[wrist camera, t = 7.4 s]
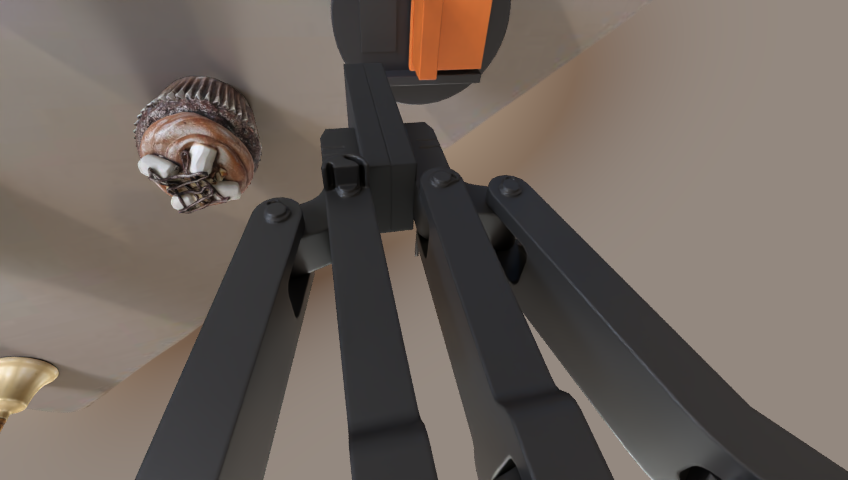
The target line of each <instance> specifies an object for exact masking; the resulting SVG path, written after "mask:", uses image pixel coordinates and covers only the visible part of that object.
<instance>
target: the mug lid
mask: <svg viewBox="0 0 848 480" xmlns="http://www.w3.org/2000/svg"><path fill="white" fill-rule="evenodd" d="M510 7H511V0H492V6H491V12H490V18H489V23H488V29H487V35H486V41H485V47H484V53H483V59H482V65H481V69H457V70H437V78H436V80H419V78H418V76H417V74H416V72H415V71H410V69H409V45H410V19H411V0H331V19H332V26H333V32H334V37H335V40H336V44H337V47H338V49H339V52H340V54H341V56H342V59H343V60H344V62H345V64H361V63H382V64H383V67H384V69H385V72H386V75H387V78H388V81H389V84H390V87H391V89H392V92H393V95H394V98H395V101H396V102H397V103H401V104H408V105H422V104H430V103H434V102H438V101H441V100H444V99H447V98H449V97H451V96H453V95H455V94H457V93H459V92H461V91H462V90H464V89H465V88H467V87H468V86H469V85H470V84H472V83H480V78H481V74H482V73H483V72H484V71H485V69H486V68H487V67H488V66H489V65H490V63H491V61H492V60H493V58H494V57H495V55H496V53H497V51H498V49H499V47H500V46H501V43H502V41H503V38H504V35H505V33H506V29H507V25H508V21H509V15H510Z"/></svg>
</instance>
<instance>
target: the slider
mask: <svg viewBox="0 0 848 480" xmlns="http://www.w3.org/2000/svg"><path fill="white" fill-rule="evenodd" d="M491 6H492V0H411V19H410V45H409V69H410V71H415V72H416V74H417V76H418V78H419V80H436V78H437V70H457V69H481V65H482V59H483V53H484V47H485V41H486V35H487V29H488V23H489V18H490V12H491Z"/></svg>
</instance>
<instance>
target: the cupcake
mask: <svg viewBox="0 0 848 480" xmlns="http://www.w3.org/2000/svg"><path fill="white" fill-rule="evenodd" d="M137 118H138V119H139V120H138V121H137V122H135V123H134V125H135V126H137V128H136V129H135V130H134V131H133V132H134V133H136V135H135V137H134V139H136V147H137V149H138V153H139V156H140V158H141V160H140V161H139V162H138V167H139V170H140V172H141V173H142V174H144V175H147V176H149V177H148V179H149V180H151V181H154V182H155V183H156V184H157V185H158V186H159V187H160V188H161V189H162V190H163V191H164V192H165V193H167V194H168V195H170V196H171V197H172V200H171V204H172V206H173V208H174V209H177V210H178V212H179V213H191V212H194V211H197V210H200V209H203V208H205V207H207V206H210V205H216V204H221V203H226V202H227V201H230V200H236V199H240V196H241V194H242V193H243V192H244V191H245V190H246V188H248V185H249V184H251V182H250V181H251V180H252V178H253V174H254V173H255V172H256V170H257V168H258V162H259V161H261V159H260V155H262V153H261V149H262V145H261V143H260V139H259V134H258V130H257V126H256V123H255V118H254V114H253V110H252V109H251V108H250V107H249V104H248V102H247V101H246V99H245V98H244V97H243V96H242V95H241V94H240V93H239V92H238V91H236V90H235V89H234V88H232V87H231V86H230V85H228V84H226V83H223V82H221V81H219V80H217V79H213V78H209V77H195V76H189V77H184V78H181V79H178V80H176V81H174V82H173V83H172V84H171V85H169V86H168V87H167V88H166V89H165V90H164V91H163V92H162V93H161V94H160V95H159V96H158V97H156V98H155V99H154V100H152V101H151V103H149V104H148V105H146V107H145V108H144V109H142V110H141V114H139V115H138V116H137ZM196 206H197V207H196Z"/></svg>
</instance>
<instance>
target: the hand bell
mask: <svg viewBox="0 0 848 480" xmlns="http://www.w3.org/2000/svg"><path fill="white" fill-rule="evenodd" d="M58 375H59V371H58V370H57V368H56V367H54V366H53V365H51V364H49V363H47V362H45V361H41V360H38V359H32V358H25V357H4V358H0V432H1V430H2V428H3V425H4V424H5V423H6V420H7V419H8V417H9V415H10V414H13V413H18V412H21V411H23V410H24V409H25V408H26V407H27V406H28V404H29V402H30V401H31V399H32V398H33V396H34V395H35V394H36V393H37V391H38V390H39V389H40V388H42V387H43V386H44V385H46V384H49V383H50V382H52V381H54V380H55V379H56V378H57V377H58Z"/></svg>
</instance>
